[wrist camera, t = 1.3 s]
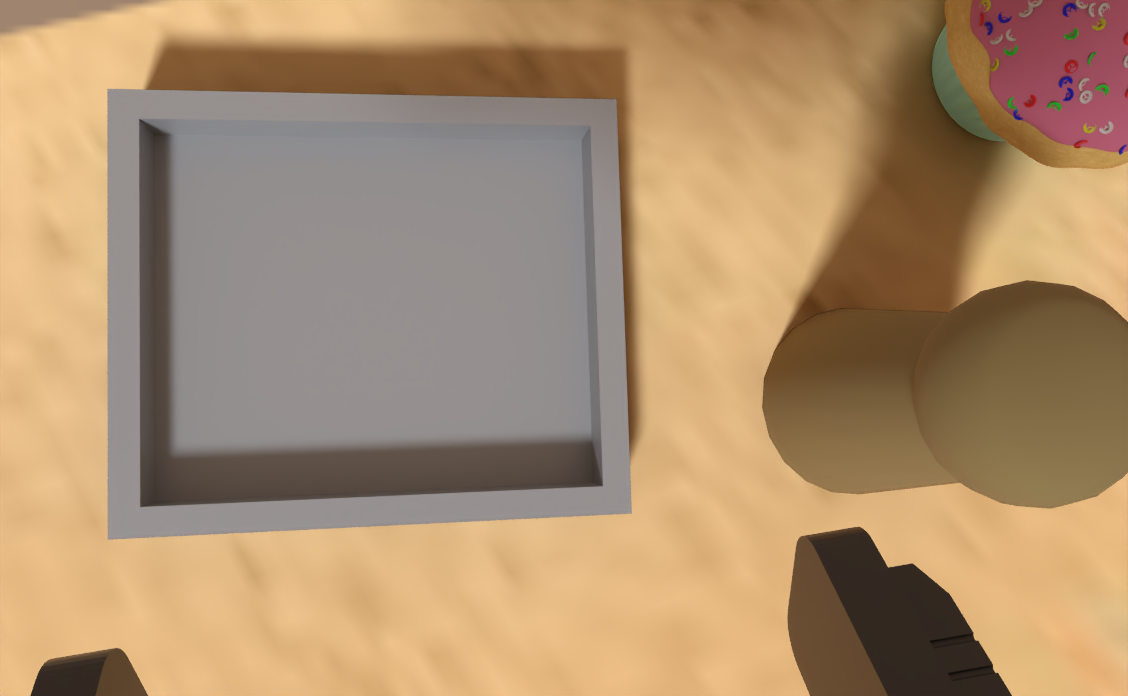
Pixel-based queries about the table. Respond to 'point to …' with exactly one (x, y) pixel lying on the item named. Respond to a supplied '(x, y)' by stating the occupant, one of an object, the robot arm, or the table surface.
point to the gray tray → (362, 311)
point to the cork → (958, 397)
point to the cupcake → (1039, 77)
